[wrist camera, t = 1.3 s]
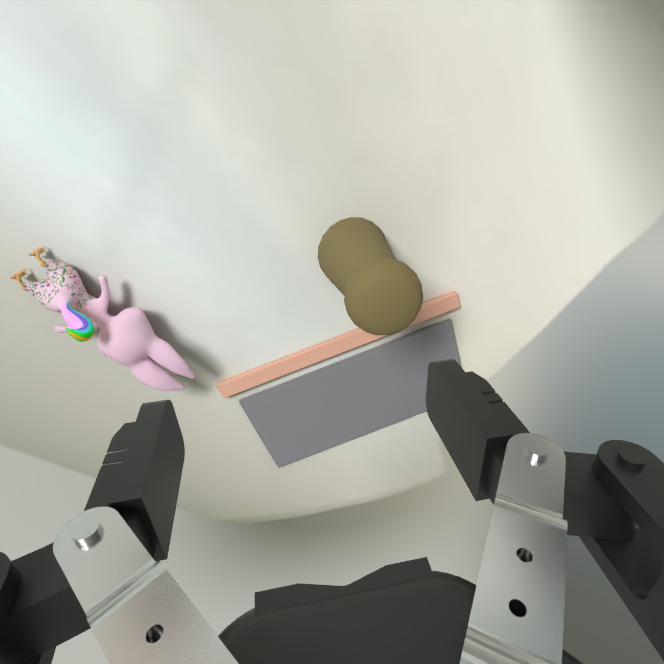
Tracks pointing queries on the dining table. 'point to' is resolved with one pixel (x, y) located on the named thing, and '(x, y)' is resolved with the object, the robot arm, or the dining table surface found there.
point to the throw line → (326, 350)
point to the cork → (370, 277)
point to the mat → (349, 395)
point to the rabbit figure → (107, 325)
